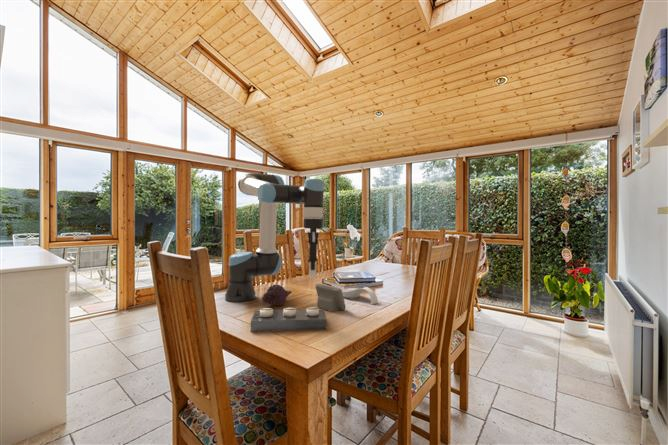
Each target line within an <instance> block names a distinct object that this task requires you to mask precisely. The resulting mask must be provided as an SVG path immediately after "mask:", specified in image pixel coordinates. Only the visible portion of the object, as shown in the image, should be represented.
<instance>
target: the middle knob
mask: <svg viewBox="0 0 668 445" xmlns="http://www.w3.org/2000/svg"><path fill="white" fill-rule="evenodd" d="M296 310H297V308H295V307H285V308H283V310H282V311H283V315H284V316H286V317H294V316H295V315H296Z"/></svg>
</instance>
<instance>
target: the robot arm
mask: <svg viewBox="0 0 668 445" xmlns="http://www.w3.org/2000/svg"><path fill="white" fill-rule="evenodd" d="M303 183H304V184H303V185H296V184H295V185H293V184H285V181H284V180H283V177H282V176H280V175H276V174H268V173H267V174H266V173H255V172H248V173H246V174H244V175H242V176H240V178H239V179H238V181H237V186H238V189H239V191H240V192H241V193H242V194H244V195H246V196H253V197H257V200H258V201H259V202H260V211H259V212H260V216H259V219H260V220H259V241H258V247H257V249H256V250H255V254H254V253H253V252H252V251H244V252H243V251H242V252H236V253H233V254H231V255H230V256H229V258H228V285H227V288H226V292H225V294H224V299H225V301H227V302H234V303H235V302H237V303H239V302H240V303H241V302H248V301H252V300H255V299H256V294H257V293H256V291H255V287H254V285H253V277H264V276H268V277H269V276H273V275H274V276H275V275H277V274H278V273H279V272H280V271H281V268H282V263H283V262H282V256H281V254H280V253H279V250H278V249H277V248H276V239H277V237H276V236H277V234H276V233H277V216H278V215H277V214H278V204H293V205H295V204H296V205H303V217H304V219H303V228H304V229H309V232H307V237H308V246H309V248H308V249H309V254H308V255H309V256H308V258H309V259H307V262H308V278H309V279H316V278H317V261H318V258H317V249H318V248H317V247H318V246H317V245H318V244H319V240H318V239H319V233H318V232H317V229H319V230H320V229H323V228H324V227H323V226H324V220H323V219H322V218H324V216H323V215H324V214H323V213H325V209H324V190H325V189H324V181H323V179H320V178H307V179H305V180H304V182H303Z"/></svg>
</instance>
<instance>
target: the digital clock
mask: <svg viewBox="0 0 668 445" xmlns="http://www.w3.org/2000/svg"><path fill="white" fill-rule="evenodd" d="M315 291H316V293H317V294H316V295H317V304H316V305H317V307H316V308H319V309H320V310H324V311H328V312H331V313H332V312H334V311H337V310H340V311H345V310H346V302H345V297H344V296H343V293H342V288H340V287H337V286H336V287H335V286H332V285H328V284H327V285H326V284H324V283H316V284H315Z"/></svg>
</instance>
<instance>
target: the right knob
mask: <svg viewBox="0 0 668 445" xmlns="http://www.w3.org/2000/svg"><path fill="white" fill-rule="evenodd" d="M305 310H306V315H308V316H317V315H319V310H320V308H318V307H316V306H312V307H311V306H310V307H306V309H305Z"/></svg>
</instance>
